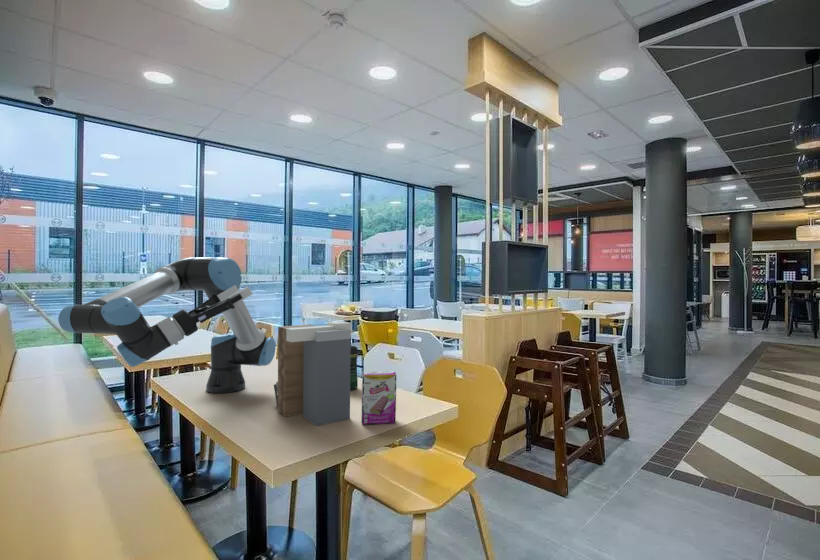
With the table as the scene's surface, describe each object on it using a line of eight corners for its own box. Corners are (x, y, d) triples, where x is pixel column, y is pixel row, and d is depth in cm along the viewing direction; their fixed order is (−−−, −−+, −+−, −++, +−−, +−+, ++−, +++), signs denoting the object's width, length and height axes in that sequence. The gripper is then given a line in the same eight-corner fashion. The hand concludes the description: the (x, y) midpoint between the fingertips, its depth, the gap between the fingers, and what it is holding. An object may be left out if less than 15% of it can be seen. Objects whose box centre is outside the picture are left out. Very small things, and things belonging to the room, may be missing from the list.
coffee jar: (360, 388, 183) (361, 345, 183) (345, 392, 177) (346, 347, 177) (347, 384, 190) (347, 342, 190) (332, 387, 184) (332, 344, 184)
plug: (285, 340, 139) (285, 324, 139) (346, 335, 153) (346, 321, 153) (292, 342, 134) (292, 326, 134) (355, 337, 148) (355, 322, 148)
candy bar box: (361, 425, 138) (362, 374, 138) (361, 420, 143) (361, 371, 143) (396, 424, 140) (396, 373, 139) (394, 418, 145) (394, 370, 144)
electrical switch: (280, 408, 155) (279, 382, 156) (272, 406, 159) (271, 381, 159) (302, 402, 163) (300, 377, 163) (293, 401, 166) (292, 376, 166)
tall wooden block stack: (277, 411, 151) (278, 326, 151) (309, 405, 159) (310, 324, 158) (284, 416, 146) (285, 328, 145) (317, 410, 153) (318, 326, 153)
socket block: (303, 416, 146) (303, 328, 146) (334, 410, 153) (335, 326, 153) (316, 425, 137) (317, 332, 137) (349, 418, 144) (350, 329, 144)
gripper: (178, 332, 136) (238, 297, 147) (194, 342, 116) (262, 301, 127) (164, 312, 134) (227, 278, 145) (178, 319, 114) (249, 279, 125)
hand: (243, 289), depth 136 cm, fingers open, 13 cm apart
